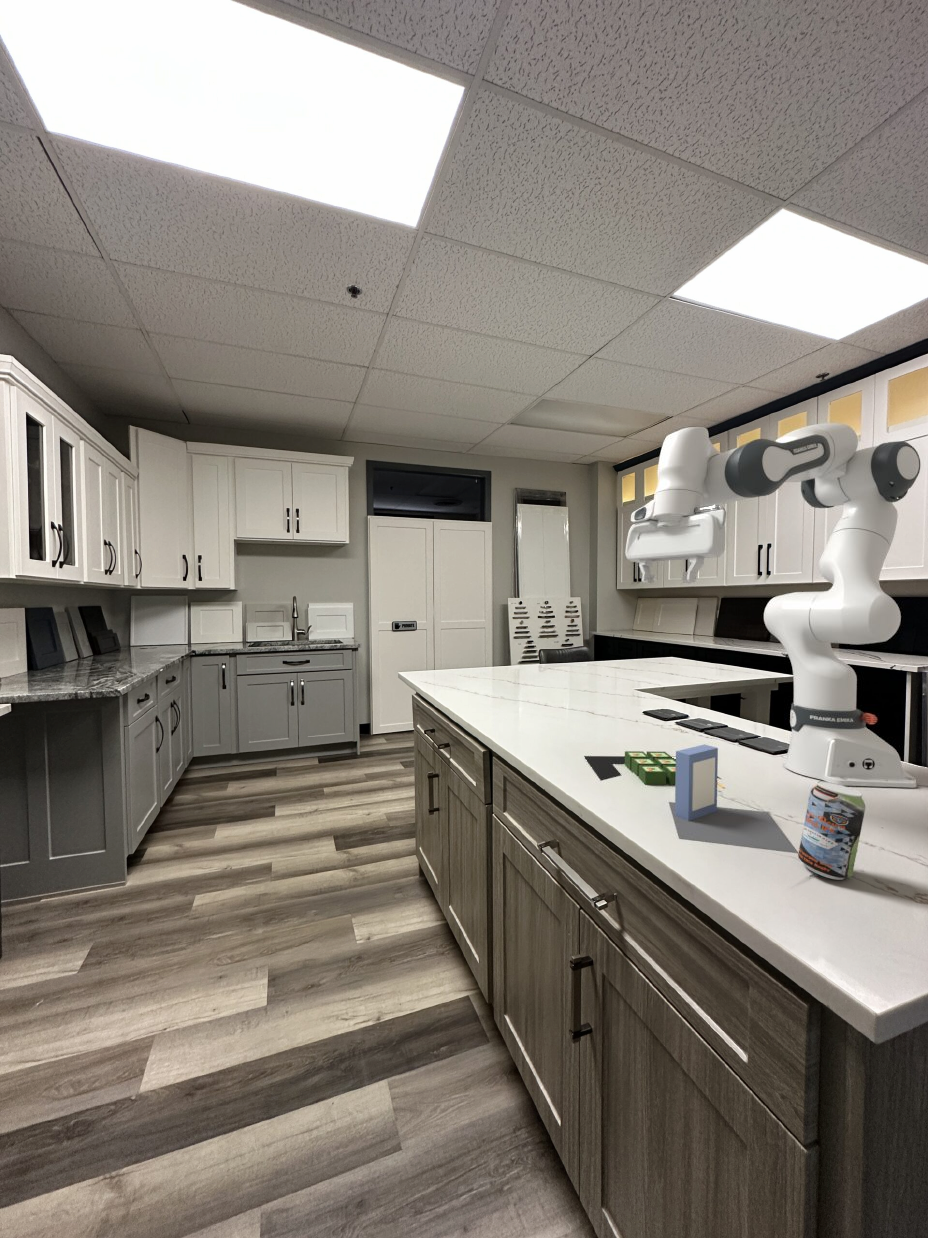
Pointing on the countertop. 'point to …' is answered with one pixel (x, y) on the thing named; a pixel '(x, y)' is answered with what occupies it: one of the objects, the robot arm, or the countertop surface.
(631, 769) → the sushi
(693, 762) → the card deck
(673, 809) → the rubber mat
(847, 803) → the beverage can
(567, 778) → the countertop surface
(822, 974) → the countertop surface
